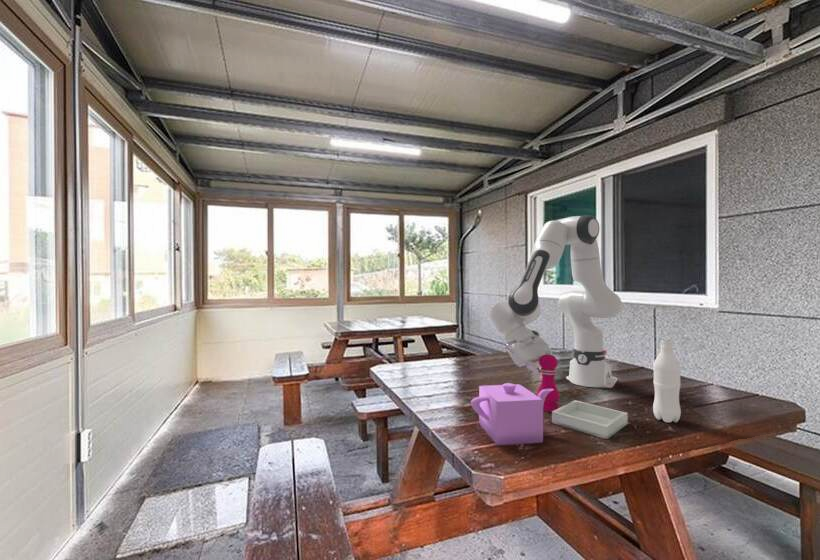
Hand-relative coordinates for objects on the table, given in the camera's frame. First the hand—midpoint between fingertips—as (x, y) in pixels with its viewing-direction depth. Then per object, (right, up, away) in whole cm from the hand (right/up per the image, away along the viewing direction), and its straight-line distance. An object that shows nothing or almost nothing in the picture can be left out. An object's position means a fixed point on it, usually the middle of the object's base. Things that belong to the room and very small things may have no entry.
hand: (545, 371), depth 129 cm
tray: (+8, -13, -14) cm, 20 cm away
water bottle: (+34, -13, -11) cm, 38 cm away
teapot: (-17, -13, -20) cm, 29 cm away
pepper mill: (+1, -13, -1) cm, 13 cm away
